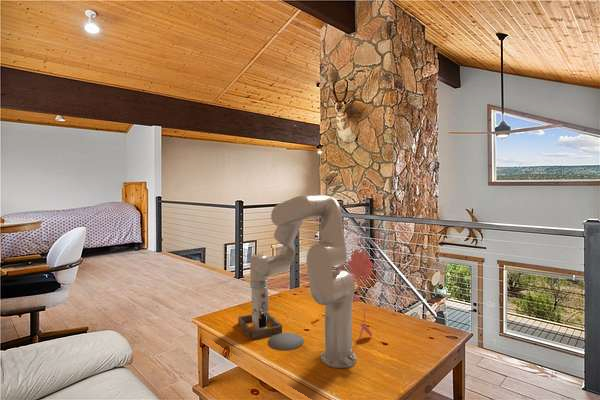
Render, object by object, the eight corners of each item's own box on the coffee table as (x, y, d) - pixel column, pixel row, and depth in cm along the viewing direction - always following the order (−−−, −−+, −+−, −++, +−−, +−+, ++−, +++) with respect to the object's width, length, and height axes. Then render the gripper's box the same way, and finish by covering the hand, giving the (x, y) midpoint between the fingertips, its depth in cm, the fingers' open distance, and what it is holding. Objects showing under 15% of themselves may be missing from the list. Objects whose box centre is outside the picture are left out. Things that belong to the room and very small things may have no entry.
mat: (309, 345, 131) (309, 344, 131) (276, 353, 125) (276, 352, 125) (294, 331, 143) (294, 330, 143) (263, 338, 137) (263, 337, 137)
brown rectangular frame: (283, 333, 142) (283, 326, 142) (250, 340, 136) (250, 332, 135) (267, 317, 158) (267, 311, 158) (237, 323, 152) (237, 317, 152)
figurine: (375, 348, 128) (376, 256, 127) (326, 327, 147) (327, 247, 147) (397, 337, 138) (399, 252, 138) (349, 319, 158) (350, 244, 157)
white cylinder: (248, 329, 146) (248, 313, 145) (257, 323, 152) (257, 308, 151) (261, 332, 142) (261, 316, 142) (270, 326, 148) (270, 311, 148)
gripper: (274, 287, 140) (275, 329, 141) (260, 277, 156) (260, 315, 156) (257, 290, 137) (258, 333, 137) (244, 279, 152) (245, 318, 153)
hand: (259, 323), depth 147 cm, fingers closed on white cylinder, 6 cm apart
